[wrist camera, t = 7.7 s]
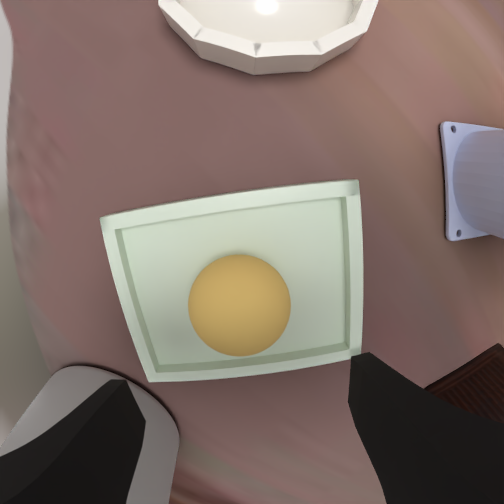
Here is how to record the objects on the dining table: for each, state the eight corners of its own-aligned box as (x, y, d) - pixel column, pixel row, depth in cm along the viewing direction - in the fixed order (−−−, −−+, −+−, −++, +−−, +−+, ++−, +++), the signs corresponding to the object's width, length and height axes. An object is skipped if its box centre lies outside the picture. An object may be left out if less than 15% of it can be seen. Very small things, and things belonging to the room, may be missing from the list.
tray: (348, 179, 16) (358, 179, 14) (353, 344, 19) (360, 356, 17) (110, 213, 16) (99, 217, 15) (153, 369, 19) (148, 382, 18)
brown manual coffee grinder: (411, 393, 21) (503, 549, 3) (499, 339, 20) (606, 443, 3) (407, 467, 25) (453, 573, 7) (478, 426, 24) (537, 513, 7)
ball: (282, 240, 16) (299, 270, 11) (284, 321, 18) (298, 372, 13) (190, 246, 16) (170, 278, 11) (201, 326, 17) (189, 378, 13)
